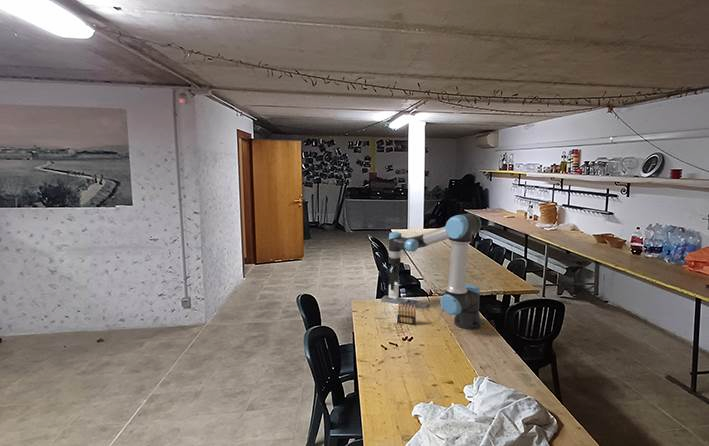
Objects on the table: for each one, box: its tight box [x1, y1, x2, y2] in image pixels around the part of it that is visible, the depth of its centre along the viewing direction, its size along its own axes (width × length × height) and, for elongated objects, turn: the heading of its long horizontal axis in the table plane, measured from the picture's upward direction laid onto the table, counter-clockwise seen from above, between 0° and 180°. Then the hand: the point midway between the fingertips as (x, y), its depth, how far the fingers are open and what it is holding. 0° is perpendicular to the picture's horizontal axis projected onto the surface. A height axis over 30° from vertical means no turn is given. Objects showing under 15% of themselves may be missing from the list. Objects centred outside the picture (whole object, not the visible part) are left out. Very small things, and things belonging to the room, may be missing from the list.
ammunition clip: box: [396, 303, 417, 326], centre depth 226 cm, size 11×2×12 cm, turn 71°
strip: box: [380, 295, 445, 312], centre depth 254 cm, size 42×7×4 cm, turn 66°
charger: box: [388, 283, 400, 298], centre depth 247 cm, size 5×4×8 cm
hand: (393, 293), depth 247 cm, fingers closed on charger, 4 cm apart
